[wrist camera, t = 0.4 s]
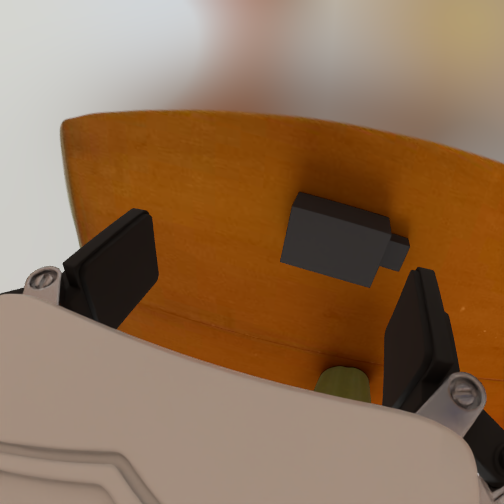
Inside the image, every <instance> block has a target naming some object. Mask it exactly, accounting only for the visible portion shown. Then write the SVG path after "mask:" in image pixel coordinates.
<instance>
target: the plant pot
mask: <svg viewBox="0 0 504 504" xmlns="http://www.w3.org/2000/svg"><path fill="white" fill-rule="evenodd" d="M314 391H315V392H319V393H324V394H328V395H333V396H337V397H342V398H346V399H351V400H356V401H361V402H366V403H371V397H370V387H369V380H368V377H367V376H366V374H365V373H364V372H362V371H361V370H359V369H357V368H353V367H351V368H347V367H343V366H337V367H332V368H329V369H327V370H325V371H324V372H323V373H322V374H321V376H320V378H319V380H318V382H317V384H316V387H315V389H314Z"/></svg>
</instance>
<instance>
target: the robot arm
mask: <svg viewBox="0 0 504 504" xmlns="http://www.w3.org/2000/svg"><path fill="white" fill-rule="evenodd" d="M63 266H64V270H65V271H64V272H63V273H61V271H60V270H59V268H56V267H53V266H47V267H43V268H40V269H38V270H36V271H34V272H33V273H31V274H30V276H29V277H28V278H27V280H26V283H25V286H24V288H21V289H17V290H13V291H9V292H5V293H1V294H0V504H504V430H503V429H502V428H501V427H500V426H499V425H498V424H497V423H496V422H495V421H494V420H493V419H492V418H491V417H490V416H489V415H488V414H487V413H486V412H485V411H484V410H483V408H484V406H485V403H486V392H485V389H484V387H483V385H482V383H481V382H480V381H479V380H478V379H477V378H476V377H474V376H473V375H471V374H469V373H466V372H460V370H459V364H458V358H457V352H456V347H455V342H454V337H453V332H452V328H451V323H450V319H449V316H448V314H447V313H446V312H444V308H443V304H442V299H441V295H440V291H439V288H438V284H437V280H436V276H435V273H434V271H433V270H430V269H425V268H421V267H417V269H416V270H411V271H410V273H409V276H408V278H407V281H406V283H405V286H404V288H403V291H402V293H401V296H400V298H399V301H398V303H397V305H396V308H395V310H394V312H393V315H392V317H391V319H390V321H389V324H388V326H387V328H386V331H385V337H384V383H383V402H382V406H381V405H377V404H372V403H366V402H361V401H356V400H351V399H346V398H342V397H337V396H333V395H328V394H324V393H319V392H315V391H310V390H306V389H302V388H298V387H293V386H289V385H285V384H281V383H277V382H274V381H270V380H266V379H262V378H259V377H255V376H252V375H248V374H245V373H241V372H238V371H234V370H231V369H227V368H224V367H221V366H218V365H214V364H211V363H208V362H205V361H202V360H199V359H196V358H193V357H190V356H187V355H184V354H181V353H178V352H175V351H172V350H169V349H166V348H164V347H161V346H158V345H155V344H153V343H150V342H147V341H144V340H142V339H139V338H137V337H134V336H131V335H129V334H126V333H124V332H121V331H119V330H116V329H117V328H118V327H119V325H120V324H121V323H122V322H123V321H124V319H125V318H126V317H127V316H128V315H129V313H130V312H131V311H132V310H133V309H134V307H135V306H136V305H137V304H138V303H139V302H140V300H141V299H142V298H143V297H144V296H145V294H146V293H147V292H148V291H149V290H150V289H151V287H152V286H153V285H154V284H155V283H156V281H157V279H158V275H159V272H158V265H157V257H156V249H155V240H154V231H153V222H152V217H151V216H150V215H149V213H148V212H147V211H146V210H141V209H135V208H133V209H131V210H130V211H128V212H127V213H126V214H124V215H123V216H122V217H120V218H119V219H118V220H116V221H115V222H114V223H112V224H111V225H110V226H108V227H107V228H106V229H104V230H103V231H102V232H101V233H99V234H98V235H97V236H95V237H94V238H93V239H92V240H90V241H89V242H88V243H87V244H85V245H84V246H83V247H82V248H80V249H79V250H78V251H77V252H75V254H73V255H72V256H71V257H69V258H68V259H67V260H66V261H65V262H63Z"/></svg>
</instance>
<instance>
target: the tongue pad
mask: <svg viewBox="0 0 504 504" xmlns="http://www.w3.org/2000/svg"><path fill="white" fill-rule="evenodd" d="M409 248H410V245H409V240H408V238H405V237H401V236H398V235H395V234H392V233H391V227H390V221H389V218H388V217H385V216H382V215H379V214H375V213H372V212H369V211H365V210H362V209H359V208H355V207H352V206H348V205H345V204H342V203H338V202H335V201H331V200H327V199H324V198H320V197H317V196H313V195H309V194H305V193H302V192H299V193H298V195H297V197H296V199H295V201H294V203H293V205H292V209H291V213H290V218H289V223H288V227H287V232H286V237H285V241H284V246H283V250H282V255H281V259H280V262H282V263H286V264H289V265H292V266H296V267H299V268H303V269H306V270H310V271H313V272H317V273H320V274H324V275H327V276H330V277H334V278H337V279H341V280H344V281H348V282H351V283H355V284H358V285H362V286H365V287H369V288H370V286H371V284H372V282H373V279H374V277H375V275H376V272H377V270H378V268H379V266H382V267H385V268H388V269H392V270H395V271H399V270H400V268H401V266H402V263H403V261H404V259H405V257H406V254H407V252H408V250H409Z"/></svg>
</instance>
